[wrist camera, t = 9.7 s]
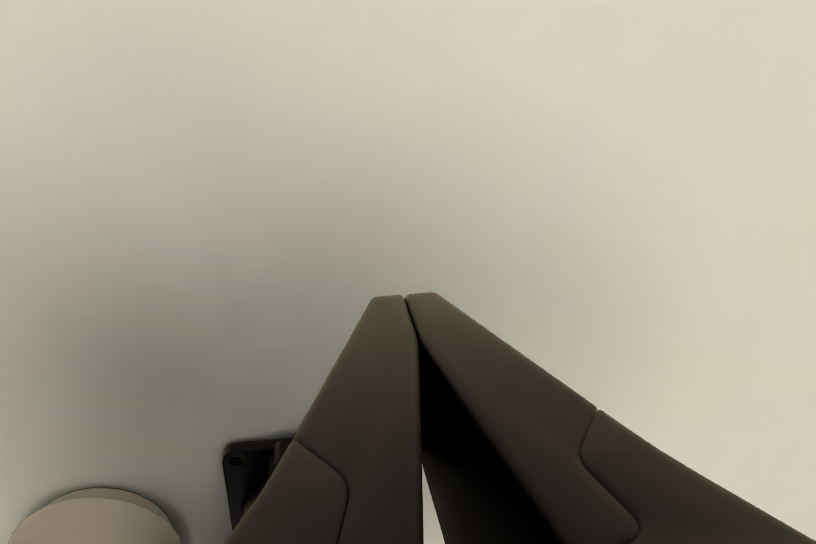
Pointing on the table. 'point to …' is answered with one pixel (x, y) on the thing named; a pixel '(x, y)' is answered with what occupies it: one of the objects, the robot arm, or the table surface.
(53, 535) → the energy drink can
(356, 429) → the robot arm
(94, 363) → the table surface
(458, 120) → the table surface
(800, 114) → the table surface
